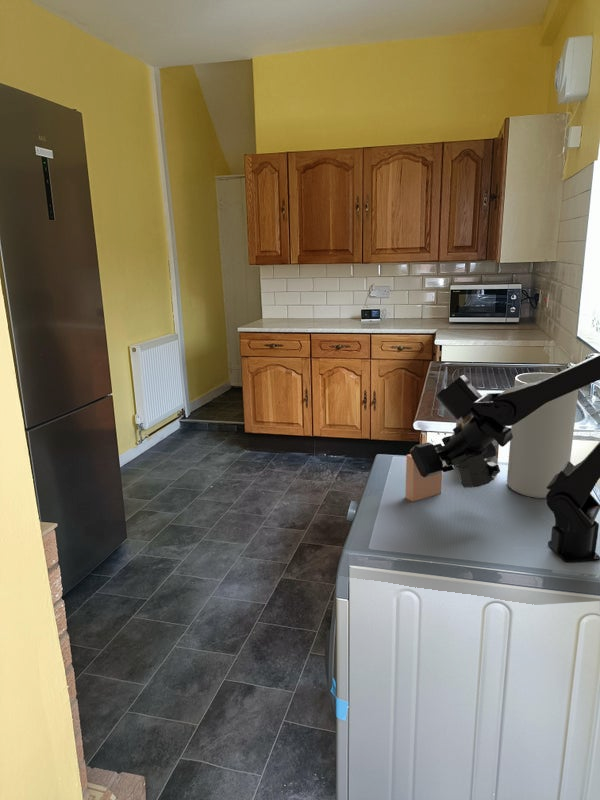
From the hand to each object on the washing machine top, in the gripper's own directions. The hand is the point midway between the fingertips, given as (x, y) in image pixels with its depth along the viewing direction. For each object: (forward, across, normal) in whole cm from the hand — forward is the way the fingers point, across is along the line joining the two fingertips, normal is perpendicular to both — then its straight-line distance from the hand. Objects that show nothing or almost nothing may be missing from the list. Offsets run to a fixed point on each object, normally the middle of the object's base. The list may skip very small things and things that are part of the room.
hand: (432, 469), depth 121 cm
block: (+7, 0, -3) cm, 8 cm away
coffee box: (+10, +20, 0) cm, 22 cm away
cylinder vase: (0, +24, -10) cm, 26 cm away
